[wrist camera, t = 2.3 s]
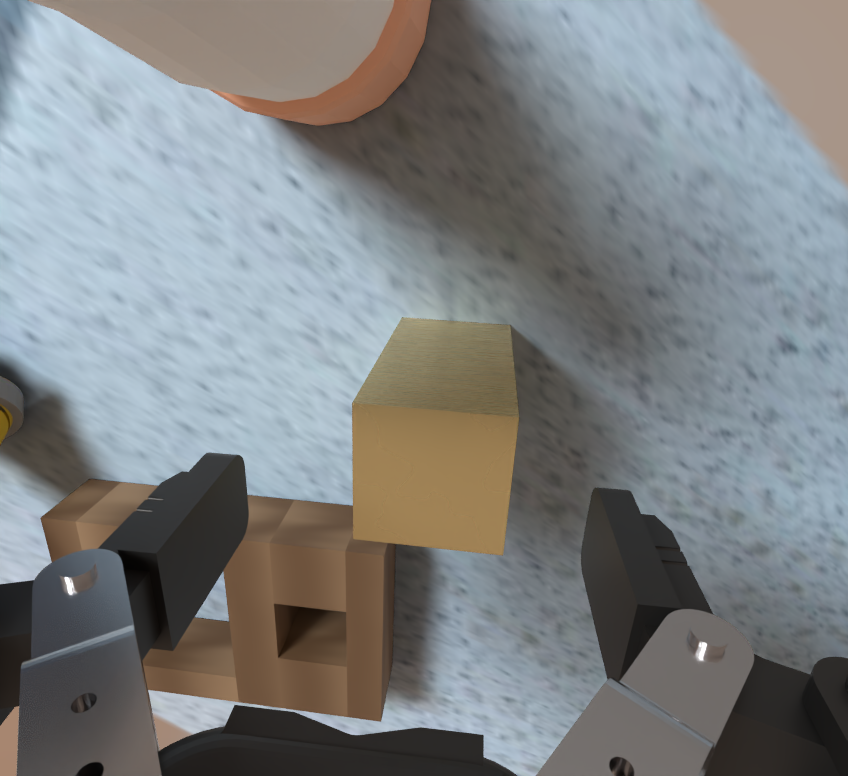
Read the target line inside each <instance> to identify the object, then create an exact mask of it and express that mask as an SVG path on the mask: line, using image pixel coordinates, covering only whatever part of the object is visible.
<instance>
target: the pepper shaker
mask: <svg viewBox="0 0 848 776" xmlns="http://www.w3.org/2000/svg"><path fill="white" fill-rule="evenodd" d="M28 1H31V2H34V3H37V4H40V5H42V6H45V7H48V8H51V9H54V10H57V11H60V12H61V13H63V14H65V15H66V16H68V17H70V18H71V19H73V20H75V21H76V22H78V23H80V24H81V25H83V26H85V27H87V28H88V29H90V30H92V31H93V32H95V33H97V34H98V35H100V36H102V37H103V38H105V39H107V40H108V41H110V42H112V43H114V44H115V45H117V46H119V47H120V48H122V49H124V50H125V51H127V52H129V53H130V54H132V55H134V56H135V57H137V58H139V59H140V60H142V61H144V62H146V63H147V64H149V65H151V66H152V67H154V68H156V69H157V70H159V71H161V72H162V73H164V74H166V75H167V76H169V77H171V78H173V79H174V80H176V81H178V82H179V83H183V84H187V85H192V86H197V87H201V88H206V89H209V90H211V91H213V92H214V93H216V94H218V95H219V96H221V97H223V98H224V99H226V100H228V101H229V102H231V103H233V104H234V105H236V106H238V107H239V108H241V109H243V110H244V111H247V112H252V113H257V114H261V115H266V116H270V117H275V118H280V119H284V120H289V121H295V122H300V123H305V124H311V125H316V126H321V125H328V124H335V123H342V122H349V121H352V120H354V119H356V118H358V117H360V116H362V115H364V114H365V113H367V112H369V111H371V110H373V109H375V108H377V107H379V106H380V105H382V104H383V103H384V102H385V101H386V100H387V98H388V97H389V96H390V95H391V94H392V93H393V92H394V91H395V90H396V89H397V88H398V87H399V85H400V84H401V83H402V82H403V81H404V80H405V79H406V78H407V76H408V74H409V72H410V70H411V68H412V66H413V64H414V62H415V59H416V57H417V55H418V53H419V51H420V49H421V47H422V45H423V43H424V40H425V34H426V28H427V22H428V17H429V11H430V5H431V0H28Z"/></svg>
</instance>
